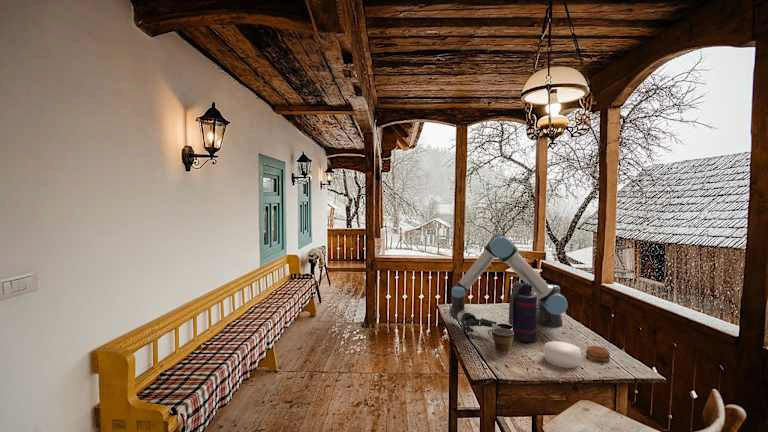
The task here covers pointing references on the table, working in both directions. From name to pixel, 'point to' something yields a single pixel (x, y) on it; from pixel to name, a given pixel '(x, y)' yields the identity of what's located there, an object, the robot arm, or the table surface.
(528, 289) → the grenade
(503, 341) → the ceramic cup
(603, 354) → the burger
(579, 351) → the plinth
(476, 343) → the table surface
